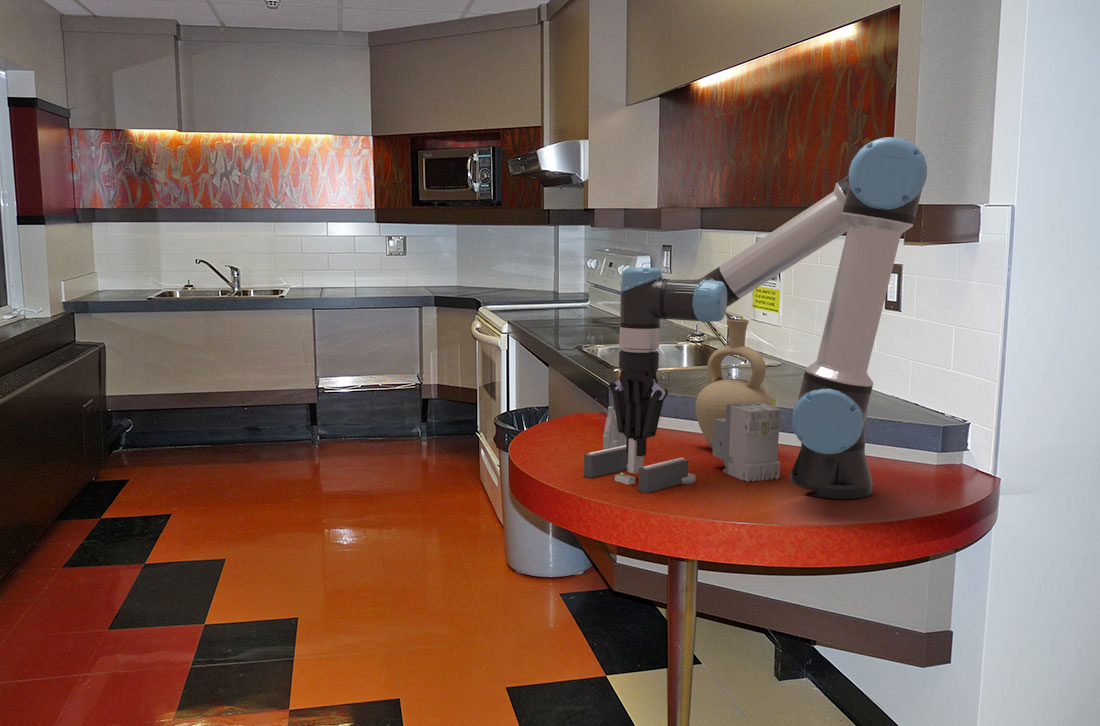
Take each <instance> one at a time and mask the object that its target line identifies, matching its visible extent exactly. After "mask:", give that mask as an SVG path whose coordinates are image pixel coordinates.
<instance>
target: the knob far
mask: <svg viewBox="0 0 1100 726" xmlns="http://www.w3.org/2000/svg"><path fill="white" fill-rule="evenodd" d="M622 471H628V454H627V452H626V445H624V446H619V447H615V448H610V449H605V450H604V449H601V450H597V451H591V452H588V453H585V454H583V477H586V478H589V479H592V478H596V477H601V476H606V475H610V474H614V473H617V472H618V473H620V472H622Z"/></svg>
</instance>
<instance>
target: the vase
mask: <svg viewBox="0 0 1100 726" xmlns="http://www.w3.org/2000/svg"><path fill="white" fill-rule="evenodd" d="M726 321H727V326H728V345H725V346H723V347H722V346H721V347H720V348H718V349H716V350H715V351H714V352H713V353H712V354H711V355H710V357H709V359H708V362H707V367H706V369H707V374H708V375H707V376H708V378H709V379H708V380H709V382H710V384H708V385H706V386H704V388H703V389H702V390H701V391H700V392H699V393H698V395H697V397H696V400H695V416H696V419H697V423H698V425H699V428H700V430H701V433H702V435H703V437H704V439H705V440H706V442H707V444H708V446H709V447H710V448H711V449H712V450H713V427H714V419H722V418H726V405H727V404H743V403H762V404H766V405H769V406H772V407H773V403H772V399H771V396H770V394H769V393H768V391H767V390H766V389H765V388H763V386H762V384H763V382H764V380H765V377H766V371H767V369H766V368H767V366H766V363H765V360H764V358H763V356H762V355H761V353H760V352H758V351H757V350H755V349H754V348H752V347H749V346H746V344H745V343H746V342H745V341H746V335H747V327H748V325H749V320H748V319H745V318H730V319H729V318H728V319H727V320H726ZM727 356H737V357H741V358H744V359H745V360H747V361H748V363H750V366H751V376H750V378H749V379H743V378H724V376H723V372H722V362H723V360H724V359H725V358H726V357H727Z"/></svg>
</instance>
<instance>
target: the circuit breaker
mask: <svg viewBox="0 0 1100 726" xmlns="http://www.w3.org/2000/svg"><path fill="white" fill-rule="evenodd" d="M782 411H783V409H781V408H779V407H775V406H773V405H772V406H769V405H766V404H762V403H743V404H727V405H726V418H722V419H714V427H713V449H712V456H714V457H717V458H719V459H720V460H723V466H724V467H725V468H723V473H725V474H727V475H729V476H732V477H734V478H736V479H738V480H741V481H745V482H748V483H749V482H750V481H752V482H756V481H758V482H760V481H764V480H765V481H767V480H772V481H773V479H776V480H778V479H779V478H780V475H781V474H780V473H781V469H780V468H781V461H780V460H778V459H779V456H778V455H779V439H780V438H779V436H780V432H782V430H783V417H781V412H782Z"/></svg>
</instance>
